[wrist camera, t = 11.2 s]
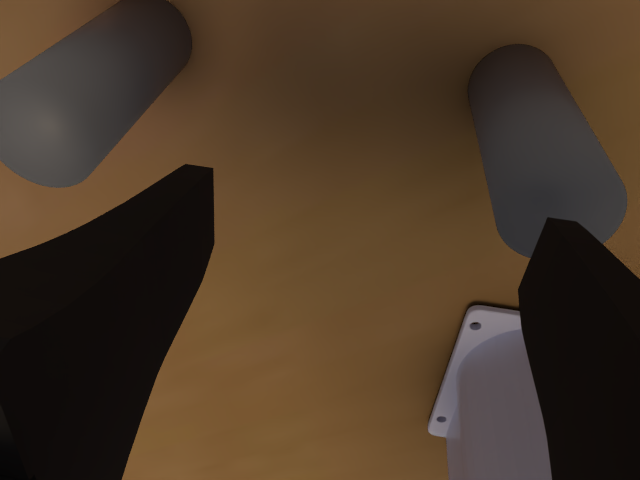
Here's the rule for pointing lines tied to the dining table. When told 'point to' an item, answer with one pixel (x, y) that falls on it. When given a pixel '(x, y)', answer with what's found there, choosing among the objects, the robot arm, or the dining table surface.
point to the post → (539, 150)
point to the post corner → (89, 91)
